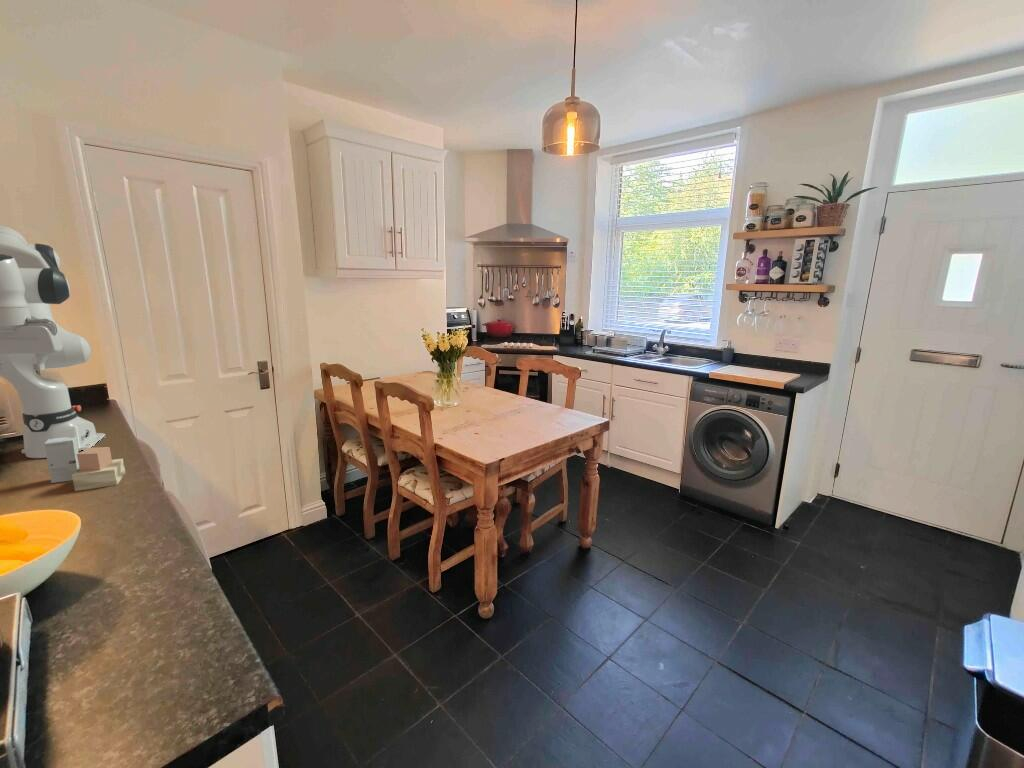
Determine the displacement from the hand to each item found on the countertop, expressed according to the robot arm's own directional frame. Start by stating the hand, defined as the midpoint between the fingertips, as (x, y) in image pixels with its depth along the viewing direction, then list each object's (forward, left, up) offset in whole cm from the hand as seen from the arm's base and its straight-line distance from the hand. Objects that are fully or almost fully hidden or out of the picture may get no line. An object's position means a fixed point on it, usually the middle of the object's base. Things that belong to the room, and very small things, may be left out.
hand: (18, 370), depth 120 cm
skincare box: (-3, +4, -33) cm, 34 cm away
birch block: (+1, +14, -33) cm, 36 cm away
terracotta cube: (+1, +14, -28) cm, 32 cm away
